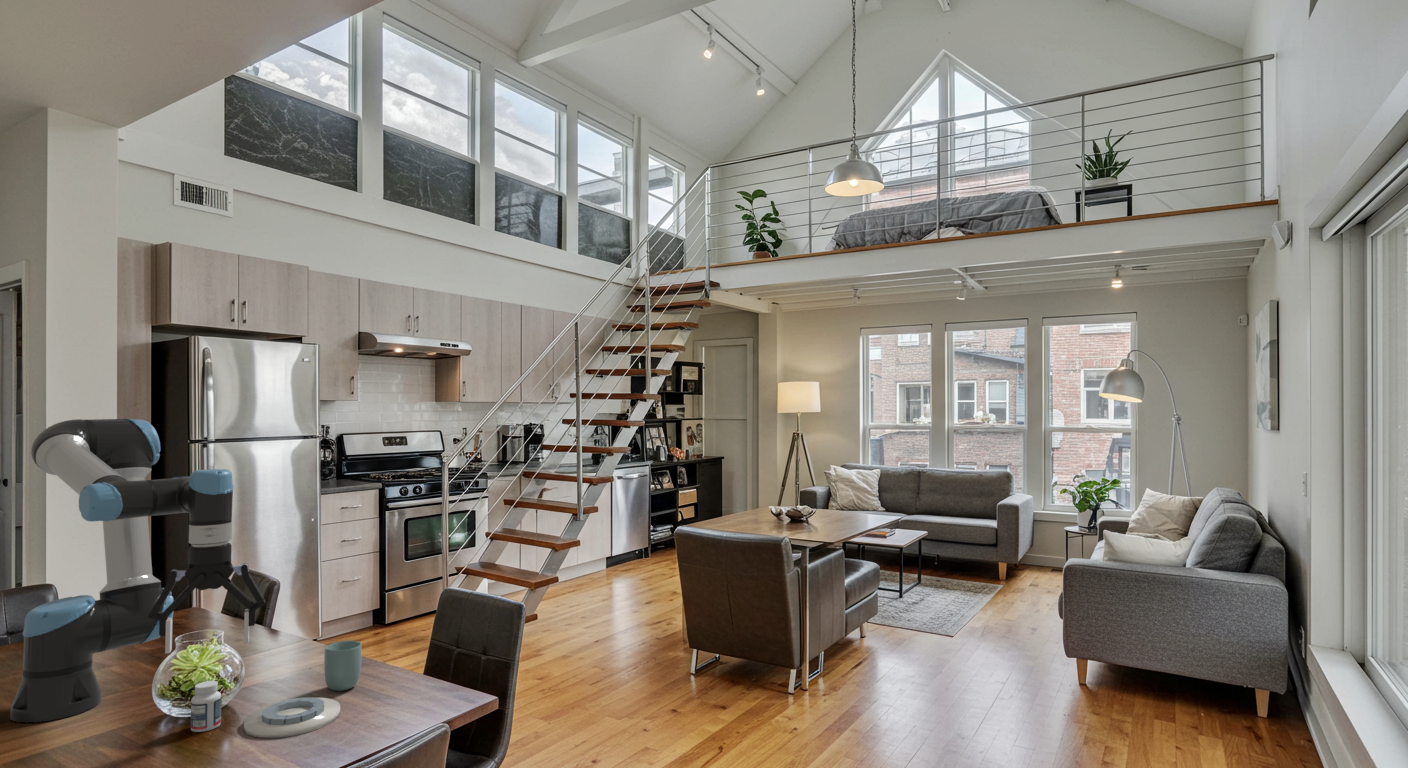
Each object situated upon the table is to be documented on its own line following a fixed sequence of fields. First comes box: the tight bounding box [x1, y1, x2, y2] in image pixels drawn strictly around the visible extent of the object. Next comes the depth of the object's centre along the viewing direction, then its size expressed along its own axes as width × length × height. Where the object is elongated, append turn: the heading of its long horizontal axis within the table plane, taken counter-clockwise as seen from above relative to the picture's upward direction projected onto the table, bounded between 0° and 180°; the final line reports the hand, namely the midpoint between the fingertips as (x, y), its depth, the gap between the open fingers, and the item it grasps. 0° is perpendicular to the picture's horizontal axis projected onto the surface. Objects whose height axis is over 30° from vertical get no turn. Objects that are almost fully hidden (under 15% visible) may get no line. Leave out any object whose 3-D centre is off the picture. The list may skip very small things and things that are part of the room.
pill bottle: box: [190, 680, 222, 733], centre depth 155 cm, size 5×5×9 cm
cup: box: [323, 640, 363, 692], centre depth 177 cm, size 8×8×10 cm
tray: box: [243, 696, 341, 739], centre depth 159 cm, size 18×18×2 cm
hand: (208, 646), depth 156 cm, fingers open, 13 cm apart
